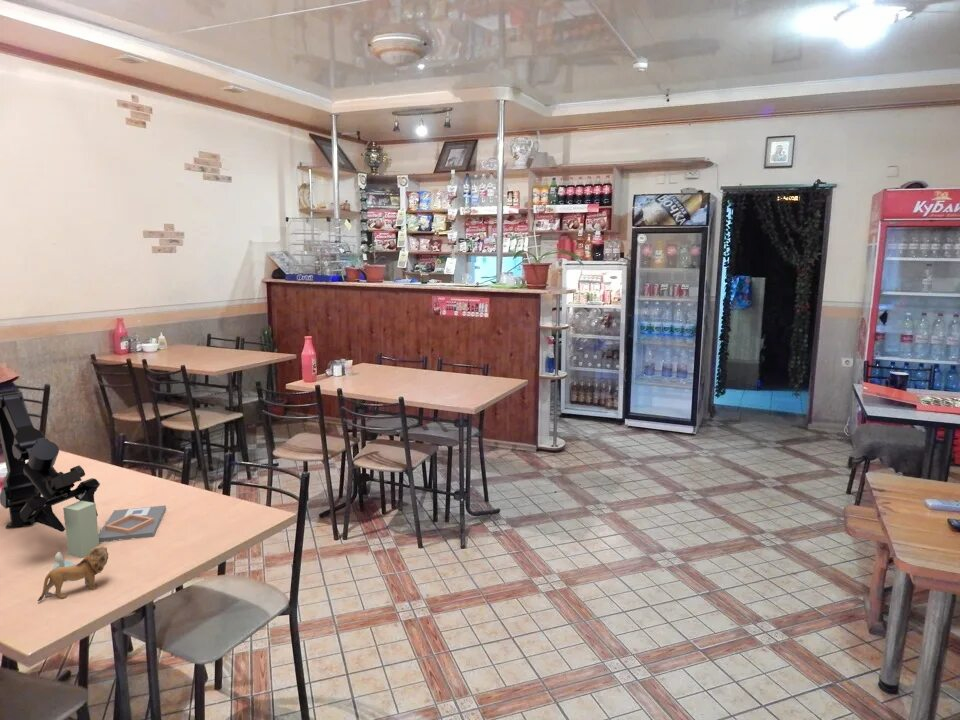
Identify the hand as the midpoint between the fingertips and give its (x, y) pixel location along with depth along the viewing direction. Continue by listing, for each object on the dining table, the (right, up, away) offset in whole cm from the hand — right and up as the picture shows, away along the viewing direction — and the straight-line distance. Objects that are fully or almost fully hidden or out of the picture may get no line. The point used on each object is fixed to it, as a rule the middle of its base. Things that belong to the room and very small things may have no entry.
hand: (80, 523), depth 161 cm
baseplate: (+4, -5, +18) cm, 19 cm away
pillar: (0, -8, +1) cm, 8 cm away
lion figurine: (+10, -11, -16) cm, 22 cm away
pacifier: (+3, -10, -10) cm, 14 cm away
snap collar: (+5, -5, +15) cm, 16 cm away
